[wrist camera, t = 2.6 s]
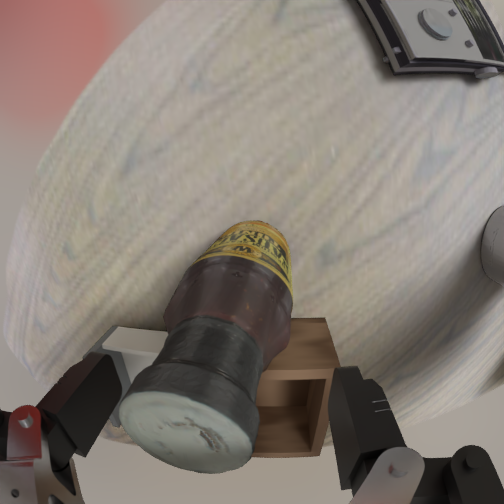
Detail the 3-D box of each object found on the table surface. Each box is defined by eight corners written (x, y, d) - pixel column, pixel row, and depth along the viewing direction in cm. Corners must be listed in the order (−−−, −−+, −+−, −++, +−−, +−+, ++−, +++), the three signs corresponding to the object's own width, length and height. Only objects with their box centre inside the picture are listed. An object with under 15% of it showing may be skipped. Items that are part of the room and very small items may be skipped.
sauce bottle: (295, 224, 24) (361, 387, 5) (281, 290, 26) (287, 499, 7) (221, 211, 24) (72, 325, 5) (212, 277, 26) (110, 459, 7)
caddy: (324, 317, 26) (340, 367, 19) (313, 405, 30) (319, 456, 22) (184, 315, 27) (157, 362, 20) (199, 401, 31) (183, 450, 23)
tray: (228, 335, 26) (216, 378, 20) (234, 405, 29) (226, 447, 23) (112, 325, 27) (82, 357, 21) (133, 391, 30) (113, 425, 24)
